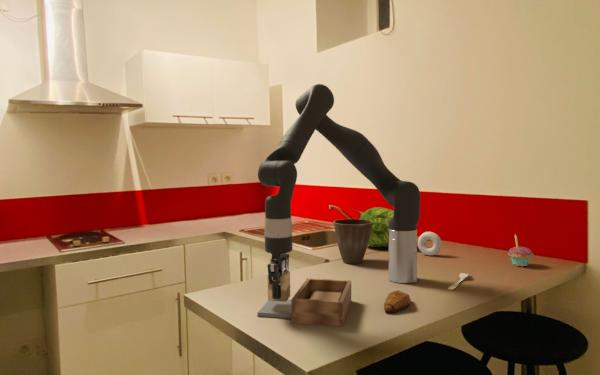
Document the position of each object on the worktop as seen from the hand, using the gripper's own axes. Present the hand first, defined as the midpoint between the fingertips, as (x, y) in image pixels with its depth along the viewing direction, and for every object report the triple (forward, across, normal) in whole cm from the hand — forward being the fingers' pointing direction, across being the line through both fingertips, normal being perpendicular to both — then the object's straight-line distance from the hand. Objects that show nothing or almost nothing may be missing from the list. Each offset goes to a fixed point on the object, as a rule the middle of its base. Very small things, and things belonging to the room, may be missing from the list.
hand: (279, 295), depth 126 cm
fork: (+5, +36, -52) cm, 63 cm away
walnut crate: (+4, +1, -12) cm, 13 cm away
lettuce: (+4, +88, -25) cm, 92 cm away
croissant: (+4, +8, -32) cm, 33 cm away
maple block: (+1, 0, 0) cm, 1 cm away
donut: (+4, +75, -44) cm, 87 cm away
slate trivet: (+4, 0, 0) cm, 4 cm away
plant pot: (+4, +59, -14) cm, 61 cm away
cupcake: (+4, +63, -76) cm, 99 cm away
